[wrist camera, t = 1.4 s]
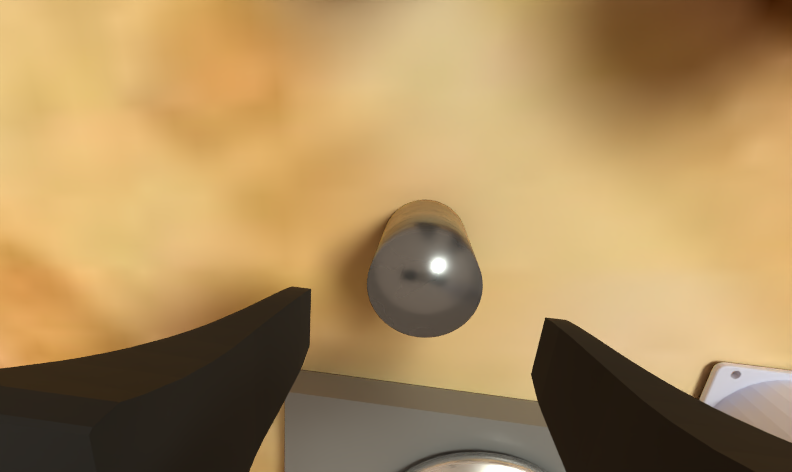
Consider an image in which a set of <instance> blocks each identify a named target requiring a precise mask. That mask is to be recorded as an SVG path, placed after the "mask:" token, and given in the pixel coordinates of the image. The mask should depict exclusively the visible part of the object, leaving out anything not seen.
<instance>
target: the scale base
mask: <svg viewBox="0 0 792 472" xmlns="http://www.w3.org/2000/svg"><path fill="white" fill-rule="evenodd" d="M463 452H487V453H497V454H502V455H507V456H512V457H515V458H518V459H522V460H525V461H527V462H529V463H532V464H534V465H536V466H539V467H540V468H542V469H544V470H546V471H547V472H566V471H565V468H564V466H563V463H562V461H561V458H560V456H559V454H558V451H557V449H556V446H555V444H554V441H553V439H552V437H551V434H550V432H549V429H548V427H547V424H546V422H545V419H544V417H543V414H542V412H541V409H540V407H539V404H538V402H537V401H530V400H522V399H515V398H507V397H500V396H492V395H485V394H477V393H470V392H463V391H455V390H448V389H440V388H433V387H425V386H418V385H410V384H403V383H395V382H388V381H380V380H373V379H365V378H358V377H350V376H343V375H335V374H328V373H320V372H313V371H305V370H300V372H299V375H298V376H297V378H296V380H295V382H294V384H293V386H292V388H291V390H290V392H289V393H288V395H287V397H286V399H285V472H405V471H407V470H409V469H410V468H412V467H414V466H416V465H418V464H420V463H422V462H424V461H427V460H430V459H433V458H436V457H439V456H444V455H448V454H454V453H463Z"/></svg>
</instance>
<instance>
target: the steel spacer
mask: <svg viewBox="0 0 792 472" xmlns="http://www.w3.org/2000/svg"><path fill="white" fill-rule="evenodd" d="M482 288H483V284H482V275H481V271H480V269H479V266H478V263H477V260H476V258H475V255H474V252H473V250H472V247H471V244H470V241H469V239H468V236H467V233H466V231H465V228H464V225H463V223H462V221H461V219H460V218H459V216H458V215H457V214H456V213H455V212H454V211H453V210H452V209H451V208H449V207H448V206H446V205H444V204H442V203H440V202H437V201H432V200H417V201H413V202H410V203H407V204H405V205H403V206H402V207H400V208H399V209H398V210H397V211H396V212H394V214H393V215H392V216H391V217H390V219H389V221H388V223H387V225H386V227H385V230H384V232H383V235H382V238H381V240H380V243H379V245H378V248H377V251H376V253H375V256H374V258H373V261H372V263H371V266H370V269H369V272H368V278H367V290H368V296H369V299H370V302H371V304H372V307H373V308H374V310H375V312H376V313H377V314H378V316H379V317H380V318H381V319H382V320H383V321H384V322H385V323H386V324H388V325H389V326H390V327H392V328H393V329H395V330H397V331H399V332H401V333H403V334H407V335H410V336H415V337H436V336H441V335H445V334H447V333H450V332H452V331H454V330H456V329H458V328H459V327H461V326H462V325H463V324H465V323H466V322H467V321H468V320H469V319H470V318H471V316H472V315H473V314H474V312H475V311H476V309H477V307H478V305H479V302H480V299H481V296H482Z"/></svg>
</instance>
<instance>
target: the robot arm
mask: <svg viewBox="0 0 792 472" xmlns="http://www.w3.org/2000/svg"><path fill="white" fill-rule="evenodd" d="M310 310H311V289H308V288H299V287H289V288H287V289H284V290H282V291H280V292H278V293H276V294H274V295H271V296H269V297H267V298H265V299H263V300H261V301H259V302H257V303H255V304H253V305H251V306H249V307H247V308H245V309H242V310H240V311H238V312H236V313H233V314H231V315H229V316H226V317H224V318H222V319H219V320H217V321H215V322H212V323H210V324H207V325H204V326H202V327H199V328H196V329H193V330H190V331H187V332H184V333H181V334H178V335H175V336H172V337H169V338H165V339H161V340H157V341H153V342H150V343H146V344H142V345H138V346H135V347H131V348H126V349H122V350H117V351H113V352H108V353H103V354H98V355H92V356H87V357H81V358H76V359H69V360H63V361H56V362H49V363H41V364H33V365H26V366H18V367H11V368H1V369H0V472H249V470H250V468H251V465H252V463H253V461H254V458H255V456H256V454H257V452H258V450H259V448H260V446H261V444H262V441H263V439H264V437H265V436H266V434H267V432H268V430H269V428H270V426H271V425H272V423H273V421H274V419H275V417H276V415H277V414H278V412H279V410H280V408H281V406H282V404H283V403H284V401H285V399H286V397H287V395H288V393H289V392H290V390H291V388H292V386H293V384H294V382H295V380H296V378H297V376H298V375H299V372H300V370H301V367H302V365H303V362H304V359H305V357H306V354H307V351H308V348H309V345H310ZM732 372H734V373H732ZM731 373H732V374H731ZM531 376H532V380H533V384H534V388H535V393H536V396H537V400H538V404H539V407H540V409H541V412H542V414H543V417H544V419H545V422H546V424H547V427H548V429H549V432H550V434H551V437H552V439H553V441H554V444H555V446H556V449H557V451H558V454H559V456H560V458H561V461H562V463H563V466H564V468H565V471H566V472H792V371H791V370H783V369H775V368H767V367H759V366H751V365H743V364H735V363H727V362H721V363H718V364H716V365H715V366H714V367H713V368H712V371H711V373H710V375H709V378H708V380H707V382H706V385H705V387H704V389H703V392H702V394H701V396H700V399H699V400H698V399H696V398H694V397H692V396H690V395H688V394H687V393H685V392H683V391H681V390H679V389H677V388H675V387H674V386H672V385H670V384H668V383H667V382H665V381H663V380H662V379H660V378H658V377H657V376H655V375H653V374H651V373H650V372H648V371H646V370H645V369H643V368H642V367H640V366H638V365H637V364H635V363H634V362H632V361H630V360H629V359H627V358H626V357H624V356H623V355H621V354H620V353H618V352H616V351H615V350H613V349H612V348H610V347H609V346H607V345H606V344H604V343H603V342H601V341H600V340H598V339H597V338H595V337H594V336H592V335H591V334H589V333H588V332H586V331H584V330H583V329H581V328H580V327H578V326H576V325H575V324H573V323H571V322H569V321H567V320H561V319H553V318H545V321H544V325H543V329H542V333H541V337H540V341H539V345H538V349H537V353H536V357H535V361H534V365H533V369H532V373H531Z"/></svg>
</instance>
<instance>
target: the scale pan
mask: <svg viewBox="0 0 792 472" xmlns="http://www.w3.org/2000/svg"><path fill="white" fill-rule="evenodd" d="M405 472H547V471H546V470H544V469H542V468H540V467H539V466H536V465H534V464H532V463H529V462H527V461H525V460H522V459H518V458H515V457H512V456H507V455H502V454H497V453H487V452H463V453H454V454H448V455H444V456H439V457H436V458H433V459H430V460H427V461H424V462H422V463H420V464H418V465H416V466H414V467H412V468H410V469H409V470H407V471H405Z"/></svg>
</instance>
